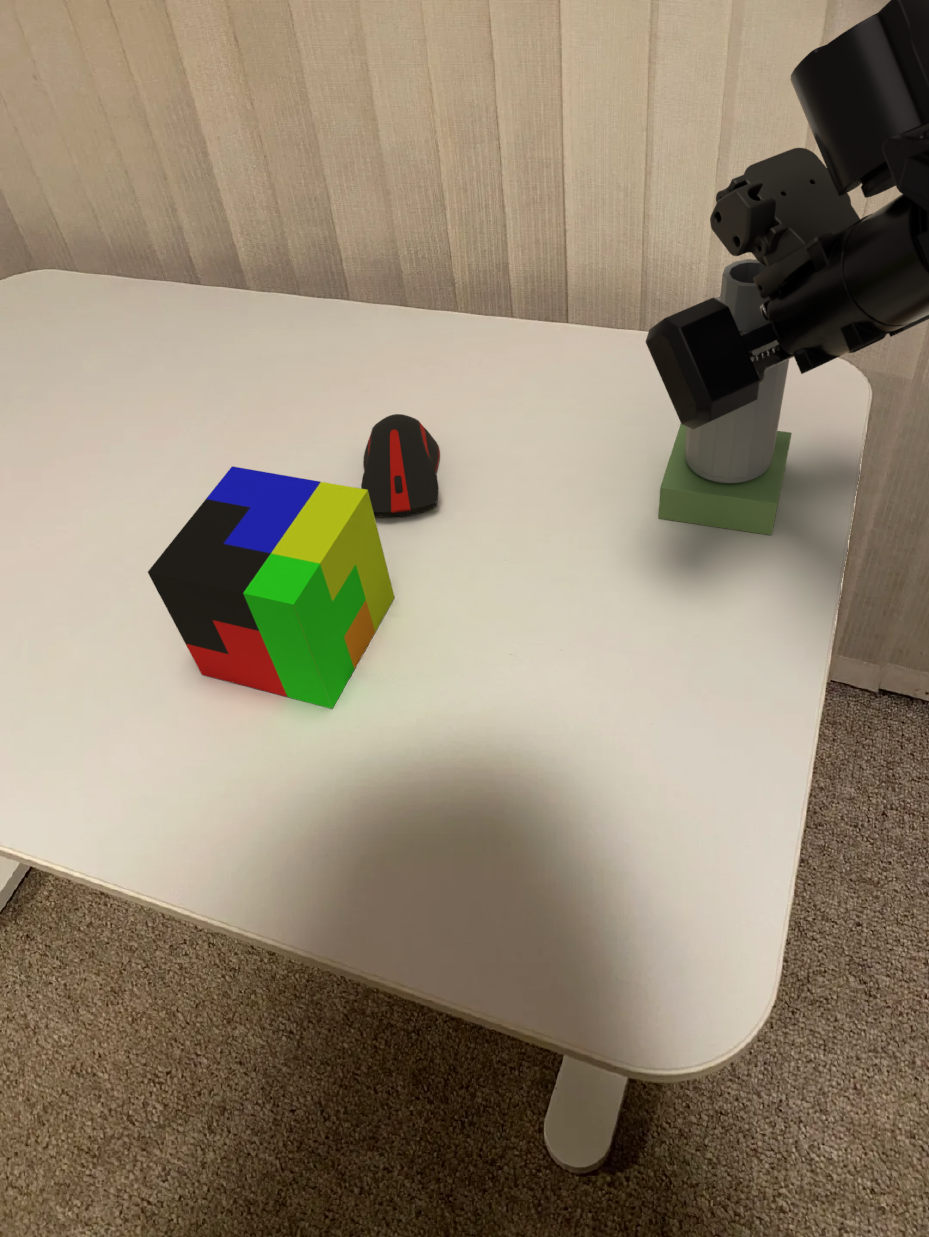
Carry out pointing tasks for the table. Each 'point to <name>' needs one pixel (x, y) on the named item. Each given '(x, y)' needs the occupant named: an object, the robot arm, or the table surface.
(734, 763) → the table surface
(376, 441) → the computer mouse
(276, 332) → the table surface
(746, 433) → the flask
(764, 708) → the table surface
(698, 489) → the green block
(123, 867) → the table surface
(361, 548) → the puzzle toy
